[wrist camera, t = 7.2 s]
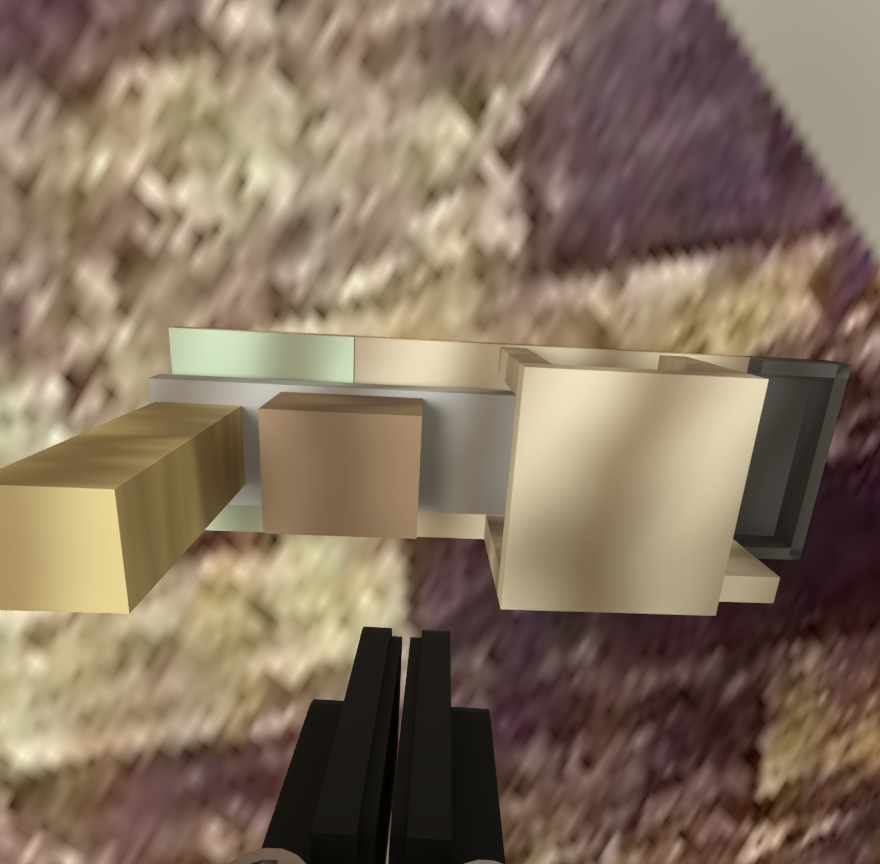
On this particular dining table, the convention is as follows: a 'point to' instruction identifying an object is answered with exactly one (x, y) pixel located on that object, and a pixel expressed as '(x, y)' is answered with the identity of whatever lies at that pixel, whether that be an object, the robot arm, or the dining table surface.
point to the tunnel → (597, 459)
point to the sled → (241, 478)
